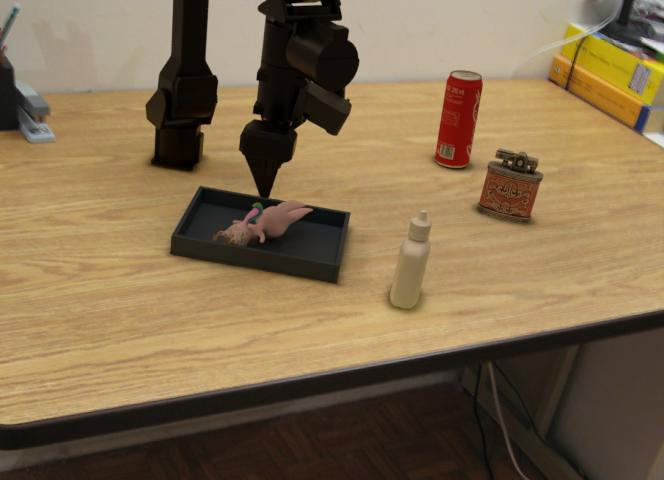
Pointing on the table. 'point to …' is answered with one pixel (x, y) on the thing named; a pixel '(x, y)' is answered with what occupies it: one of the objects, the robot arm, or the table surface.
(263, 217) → the rabbit figure
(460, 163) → the beverage can
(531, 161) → the lighter
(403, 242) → the eye dropper bottle
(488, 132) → the table surface
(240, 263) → the desk tray
